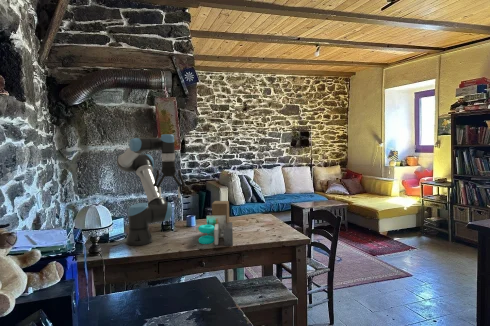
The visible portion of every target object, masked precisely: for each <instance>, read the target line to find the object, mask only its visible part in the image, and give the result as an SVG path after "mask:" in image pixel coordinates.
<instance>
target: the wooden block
mask: <svg viewBox="0 0 490 326" xmlns="http://www.w3.org/2000/svg"><path fill="white" fill-rule="evenodd" d="M214 215H226V222H230V201H229V200H214V201H213V202H212V203H211V216H214Z"/></svg>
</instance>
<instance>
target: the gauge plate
mask: <svg viewBox="0 0 490 326" xmlns="http://www.w3.org/2000/svg"><path fill="white" fill-rule="evenodd" d="M214 237H215V242H214V246H218V245H219V239H220V238H219V224H217V219H216V224H215V229H214Z"/></svg>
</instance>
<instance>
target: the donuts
mask: <svg viewBox="0 0 490 326" xmlns="http://www.w3.org/2000/svg"><path fill="white" fill-rule="evenodd" d="M214 229H215V227H214V226H213V225H207V224H201V225H199V226H198V228H197V230H198V231H199V232H200V233H201V234H205V235H201V236H200V237H199V238H198V242H199V244H201V245H211V244H213V243H214V244H215V238H214V237H213V236H210V235H207V233H211V232H213V231H214Z"/></svg>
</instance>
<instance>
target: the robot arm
mask: <svg viewBox="0 0 490 326" xmlns="http://www.w3.org/2000/svg"><path fill="white" fill-rule="evenodd" d="M128 145H129V147H128V148H127V149H126V150H125V151H124V153H121V154H120V155H119V156H118V157H117V159H116V164H117V167H118V168H119V169H120V170H121V171H123V172H127V173H132V172H134V173H135V174H136V175H137V176H138V177H139V178H140V181H141V184H142V187H143V190H144V192H145V195H146V198H147V200H148V202H139V203H134V204H131V205H130V206H129V207H128V209H127V210H128V211H127V217H128V233H127V237H126V239H125V240H126V243H125V244H126V245H128V246H143V245H144V246H145V245H148V244H150V243H152V242H153V235H152V233H151V230H150V226H149V224H155V223H156V224H157V223H160V222H161V223H162V222H166V221H169V220H170V219H171V218H172V214H173V208H172V204H171V202H169V201H167V200H166V199H165V198H164V197H162V186H161V185H162V183H163V181H164V179H165V178H167V177H172V178H173V179H174V181H175V182H176V184H177V185H178V187H177V197H178V198H177V199H180V198H181V193H182V191H183V187H184V186H185V185H186V184H185V181H184V178H183V175H182V170H181V169H180V168H179V169H176V161H175V160H176V153H175V152H176V151H175V148H176V147H175V136H174V134H171V133H170V134H169V133H168V134H167V133H165V134H161V136H160V137H135V138H131V139H130V140H129V144H128ZM150 151H151V152H153V151H161V169H156V176H155V177H154V174H153V171H154V169H155V163H154V162H155V160H154V158H153V157H152V155H151V154H147V153H146V154H145V153H143V152H150ZM161 173H162V174H163V175H162V176H161V178H160V174H161ZM176 174H177V175H178V177H177V176H176ZM159 178H160V179H159ZM158 180H159V182H158Z"/></svg>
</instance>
